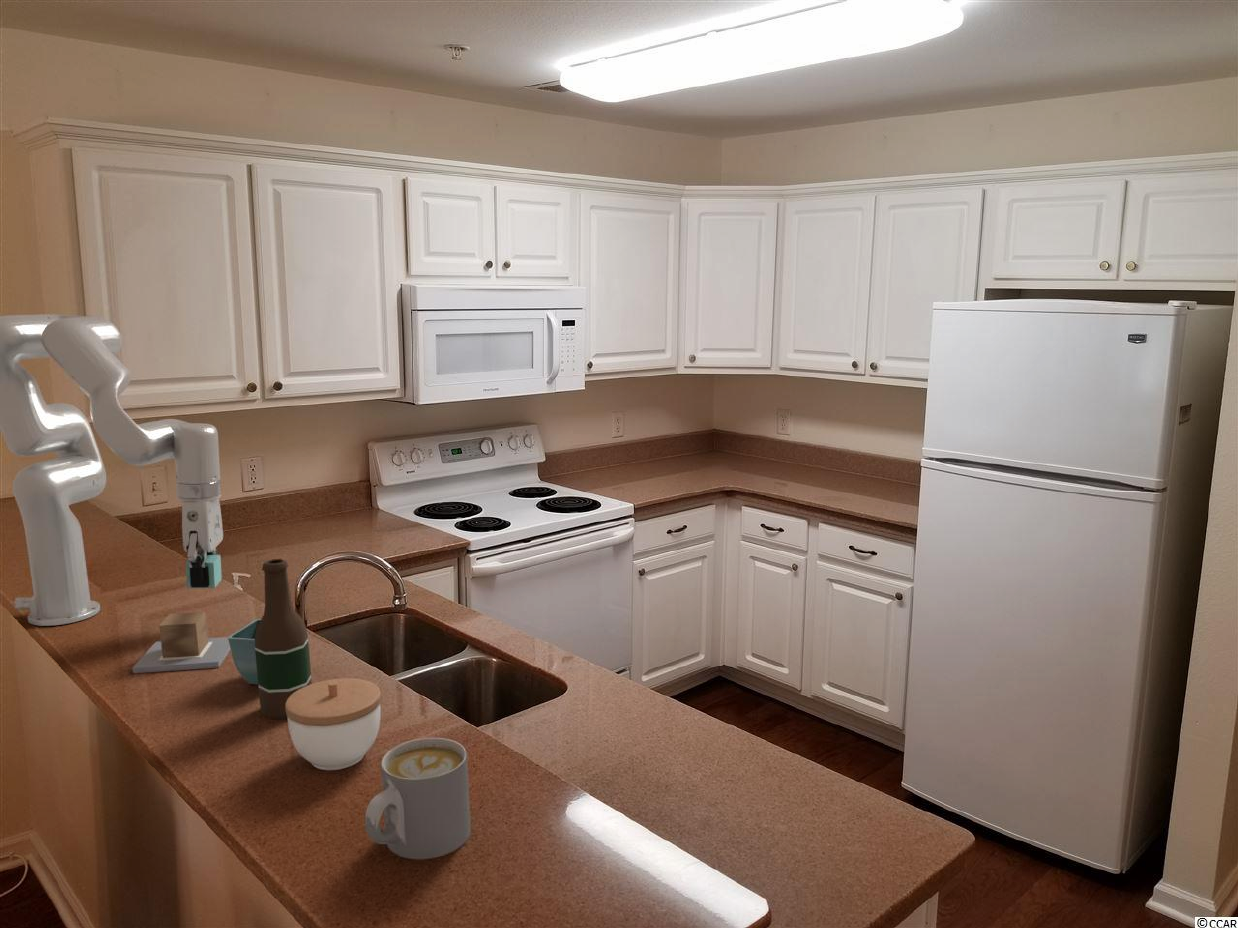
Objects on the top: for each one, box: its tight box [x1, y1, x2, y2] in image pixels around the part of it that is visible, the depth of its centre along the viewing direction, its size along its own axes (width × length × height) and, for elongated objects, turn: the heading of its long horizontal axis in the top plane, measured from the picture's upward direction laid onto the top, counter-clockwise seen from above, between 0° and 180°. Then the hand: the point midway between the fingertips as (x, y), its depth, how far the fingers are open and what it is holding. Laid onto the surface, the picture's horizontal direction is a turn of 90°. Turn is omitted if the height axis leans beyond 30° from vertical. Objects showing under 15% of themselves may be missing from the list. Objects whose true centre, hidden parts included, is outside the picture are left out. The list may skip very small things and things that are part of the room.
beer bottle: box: [255, 558, 313, 720], centre depth 143 cm, size 8×8×24 cm
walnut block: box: [158, 611, 209, 658], centre depth 165 cm, size 6×6×6 cm
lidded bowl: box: [285, 677, 382, 771], centre depth 129 cm, size 13×13×11 cm
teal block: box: [184, 554, 223, 589], centre depth 178 cm, size 5×5×5 cm
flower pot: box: [227, 618, 262, 685], centre depth 155 cm, size 9×9×9 cm
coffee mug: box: [364, 737, 472, 860], centre depth 109 cm, size 13×10×10 cm
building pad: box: [132, 636, 231, 674], centre depth 166 cm, size 14×12×1 cm
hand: (204, 580), depth 178 cm, fingers closed on teal block, 5 cm apart
